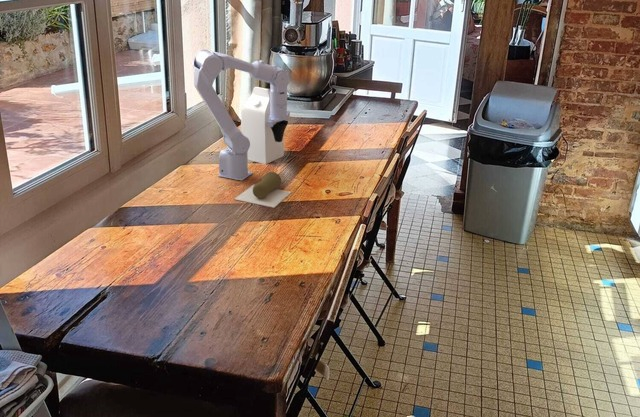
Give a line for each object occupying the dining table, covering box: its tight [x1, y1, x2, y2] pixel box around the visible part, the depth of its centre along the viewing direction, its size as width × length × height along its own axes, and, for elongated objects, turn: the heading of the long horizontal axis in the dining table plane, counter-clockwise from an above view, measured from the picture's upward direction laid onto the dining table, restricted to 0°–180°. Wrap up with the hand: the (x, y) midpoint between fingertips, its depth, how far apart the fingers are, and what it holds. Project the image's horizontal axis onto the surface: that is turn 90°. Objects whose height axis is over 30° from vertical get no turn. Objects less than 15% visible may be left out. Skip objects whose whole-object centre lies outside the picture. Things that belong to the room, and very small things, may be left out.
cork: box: [253, 171, 282, 199], centre depth 199 cm, size 6×6×11 cm
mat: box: [233, 184, 292, 209], centre depth 199 cm, size 14×13×1 cm
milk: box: [240, 86, 285, 165], centre depth 227 cm, size 12×12×26 cm
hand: (278, 141), depth 217 cm, fingers closed
